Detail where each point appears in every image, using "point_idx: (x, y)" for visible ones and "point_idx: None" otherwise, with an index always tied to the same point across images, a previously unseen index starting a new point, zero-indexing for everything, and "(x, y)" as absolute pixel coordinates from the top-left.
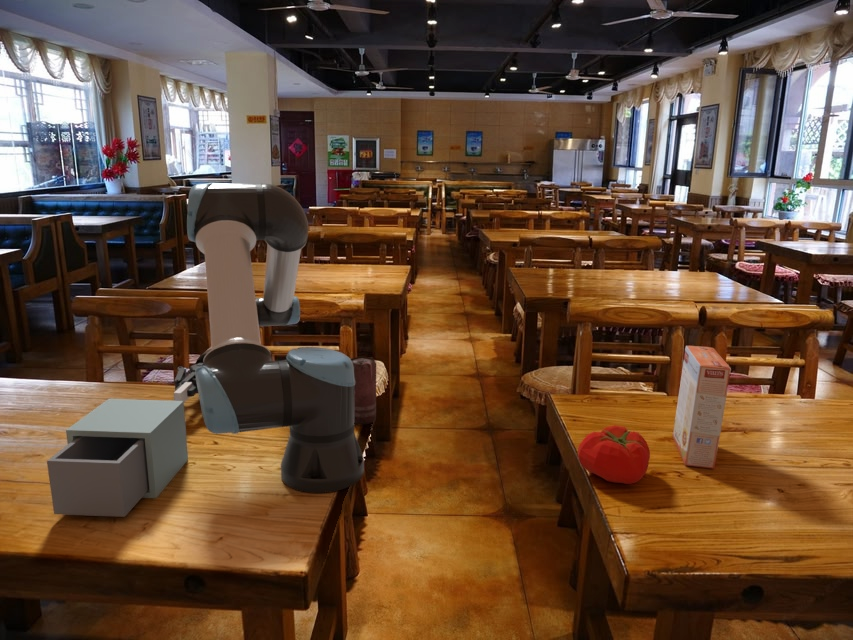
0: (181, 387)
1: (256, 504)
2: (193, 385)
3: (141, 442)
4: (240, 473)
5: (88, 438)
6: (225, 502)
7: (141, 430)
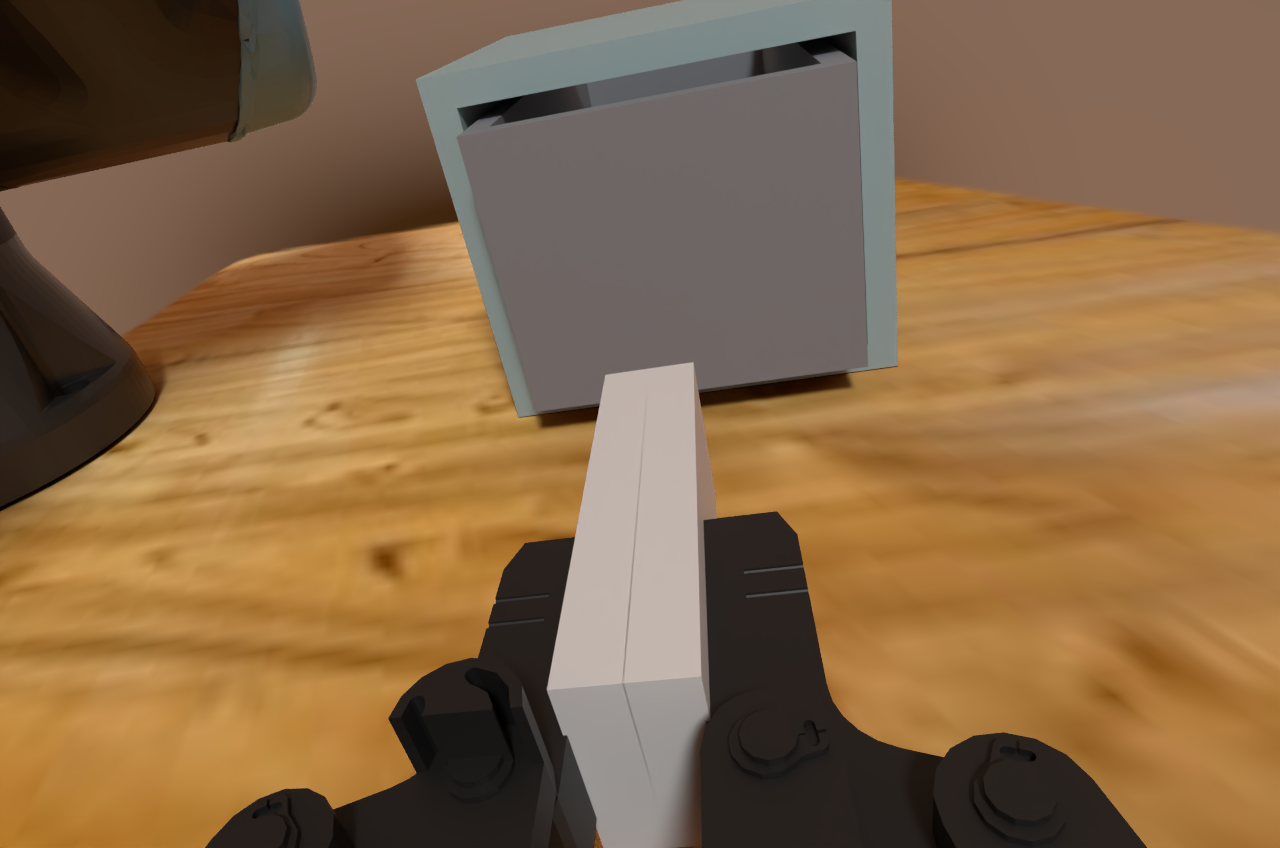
0: (666, 478)
1: (276, 325)
2: (540, 727)
3: None
4: (293, 400)
5: (778, 52)
6: (361, 313)
7: (543, 30)
